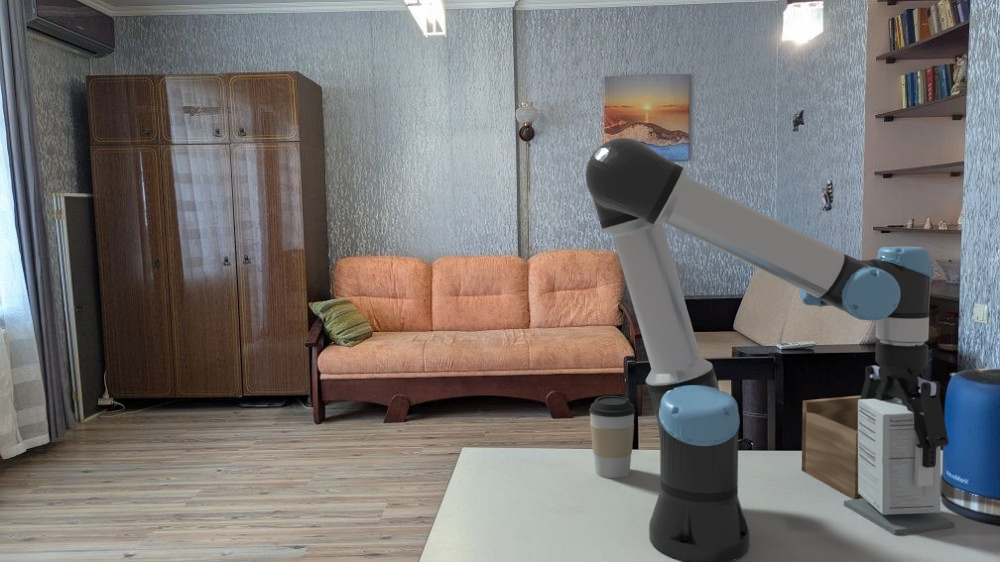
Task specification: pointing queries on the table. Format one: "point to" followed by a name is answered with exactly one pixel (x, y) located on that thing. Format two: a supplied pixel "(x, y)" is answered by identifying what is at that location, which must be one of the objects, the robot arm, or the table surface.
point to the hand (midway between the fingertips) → (898, 473)
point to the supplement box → (892, 460)
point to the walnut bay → (832, 442)
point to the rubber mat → (899, 518)
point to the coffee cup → (612, 435)
